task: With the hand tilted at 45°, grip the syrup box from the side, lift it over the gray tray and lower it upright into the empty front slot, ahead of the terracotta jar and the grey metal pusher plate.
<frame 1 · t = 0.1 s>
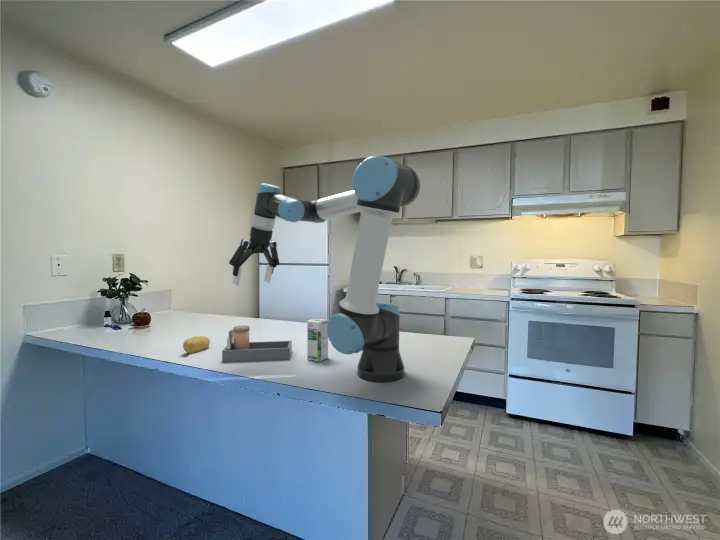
hand: (251, 283, 126), 28 cm above the countertop, tool tilted 20°, fingers open, 13 cm apart
gray tray: (258, 358, 125), on the countertop
jar: (241, 356, 124), point 1 cm above the countertop, touching gray tray
syrup box: (317, 359, 124), on the countertop
pusher: (231, 343, 123), point 6 cm above the countertop, slide at 0.0 cm
potato: (197, 352, 133), on the countertop
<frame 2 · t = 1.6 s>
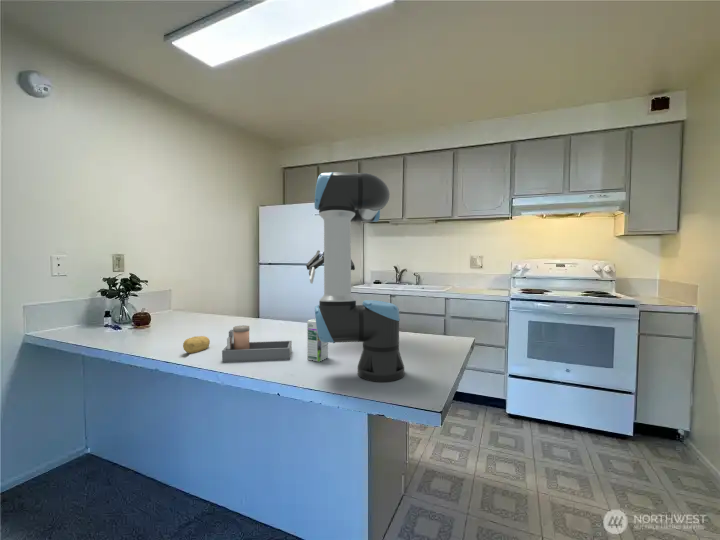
hand: (327, 281, 135), 27 cm above the countertop, tool tilted 45°, fingers open, 13 cm apart
nothing on the countertop moved.
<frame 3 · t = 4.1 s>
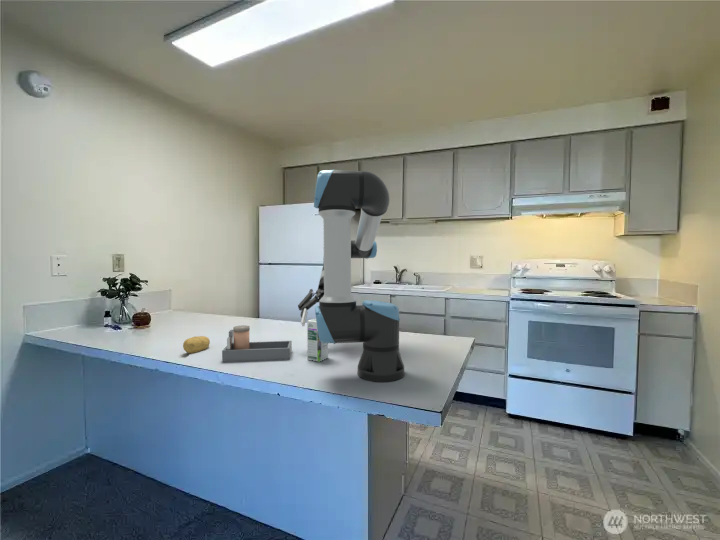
hand: (319, 324, 129), 12 cm above the countertop, tool tilted 45°, fingers open, 13 cm apart
nothing on the countertop moved.
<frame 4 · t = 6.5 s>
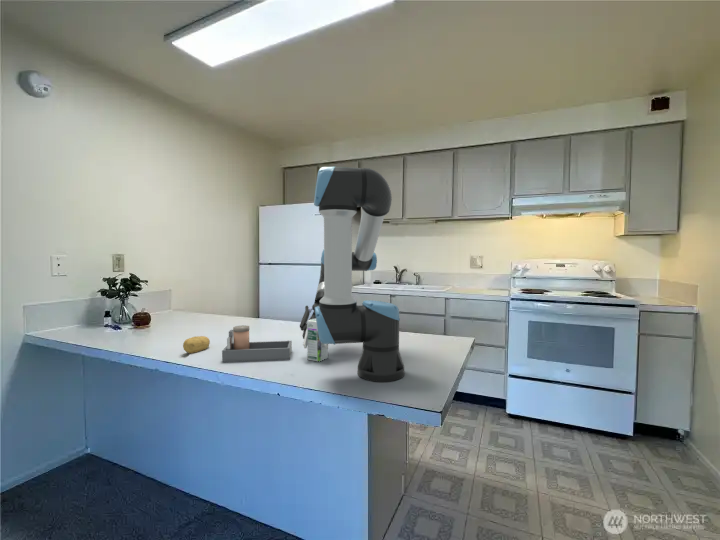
hand: (315, 346, 121), 6 cm above the countertop, tool tilted 45°, fingers closed on syrup box, 7 cm apart
syrup box: (317, 359, 124), on the countertop, touching gripper
everything else where it was.
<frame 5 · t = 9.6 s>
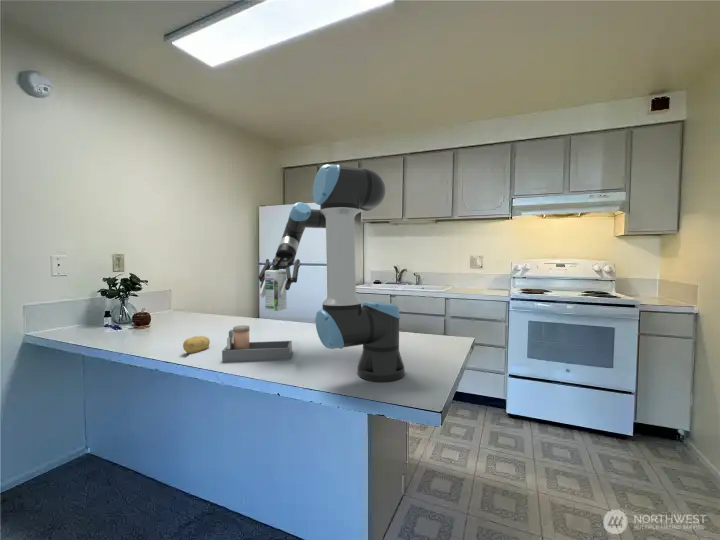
hand: (271, 295, 121), 24 cm above the countertop, tool tilted 45°, fingers closed on syrup box, 7 cm apart
syrup box: (276, 309, 125), point 18 cm above the countertop, touching gripper
everything else where it was.
when the fingers open (8 cm above the countertop, at t = 13.1 s): syrup box drops 1 cm, resting on gray tray.
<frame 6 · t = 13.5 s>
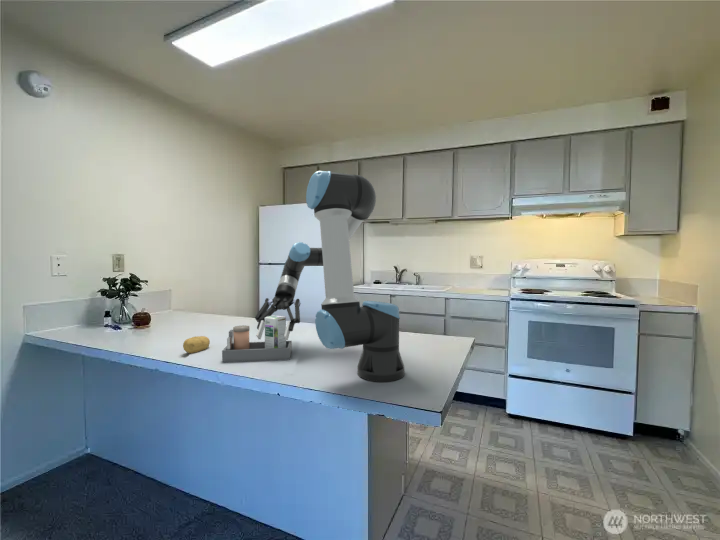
hand: (272, 337, 122), 8 cm above the countertop, tool tilted 45°, fingers open, 10 cm apart
syrup box: (275, 355, 125), point 1 cm above the countertop, touching gray tray
everything else where it was.
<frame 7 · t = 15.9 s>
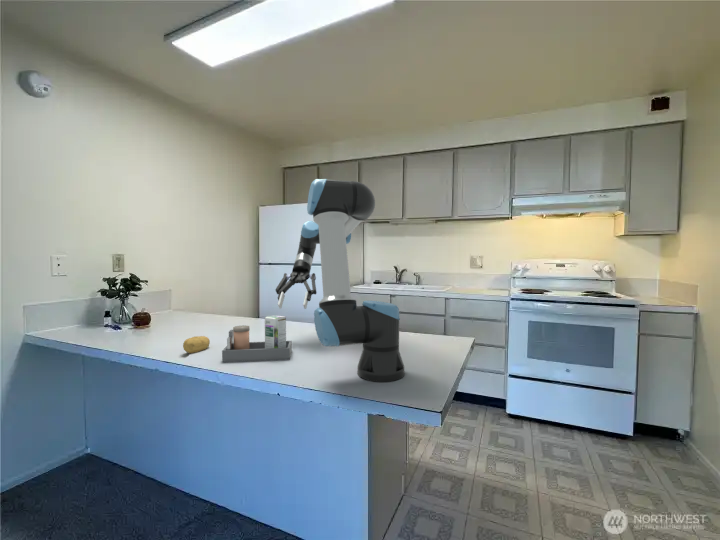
hand: (292, 306, 135), 18 cm above the countertop, tool tilted 45°, fingers open, 10 cm apart
nothing on the countertop moved.
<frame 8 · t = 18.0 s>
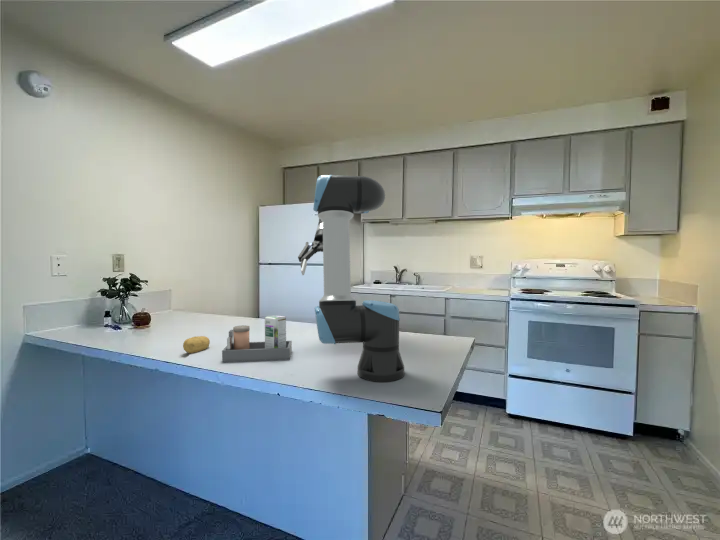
hand: (314, 272, 136), 31 cm above the countertop, tool tilted 45°, fingers open, 10 cm apart
nothing on the countertop moved.
at the end: syrup box 1.3 cm from the target spot on the gray tray, point 0.8 cm above the gray tray's base; syrup box tilted 0°; the gripper is holding nothing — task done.
